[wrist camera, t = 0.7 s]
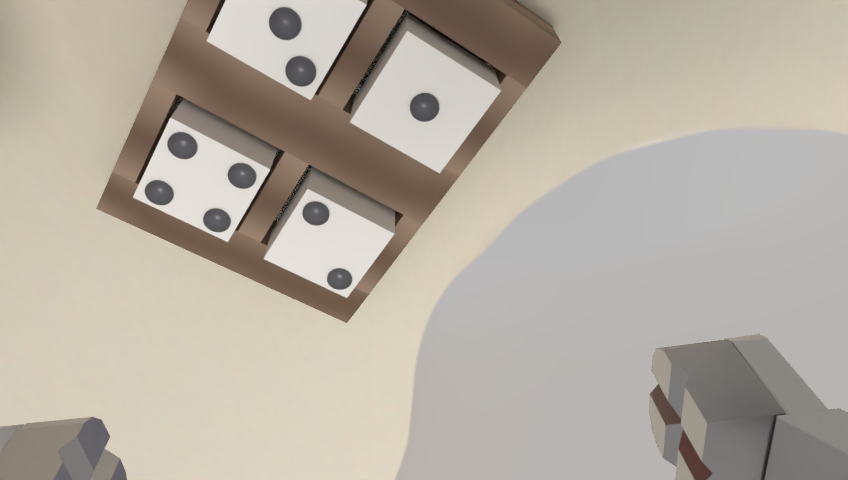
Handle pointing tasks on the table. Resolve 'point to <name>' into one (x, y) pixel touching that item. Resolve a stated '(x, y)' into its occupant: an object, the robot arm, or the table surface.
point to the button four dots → (205, 170)
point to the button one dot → (424, 94)
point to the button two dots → (330, 233)
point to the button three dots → (287, 37)
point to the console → (319, 131)
